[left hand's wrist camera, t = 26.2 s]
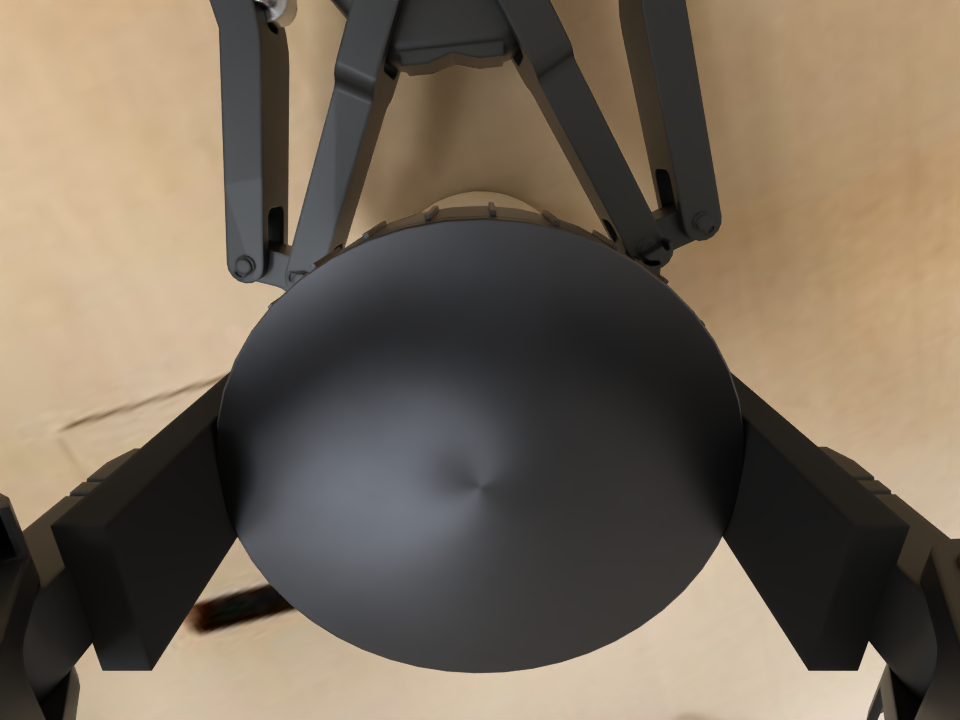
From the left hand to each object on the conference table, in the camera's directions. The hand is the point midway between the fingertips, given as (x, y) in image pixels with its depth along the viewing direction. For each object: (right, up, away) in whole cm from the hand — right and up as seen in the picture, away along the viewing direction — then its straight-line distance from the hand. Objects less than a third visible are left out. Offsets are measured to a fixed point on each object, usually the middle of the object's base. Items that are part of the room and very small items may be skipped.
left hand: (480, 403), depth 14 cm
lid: (0, -1, -3) cm, 3 cm away
